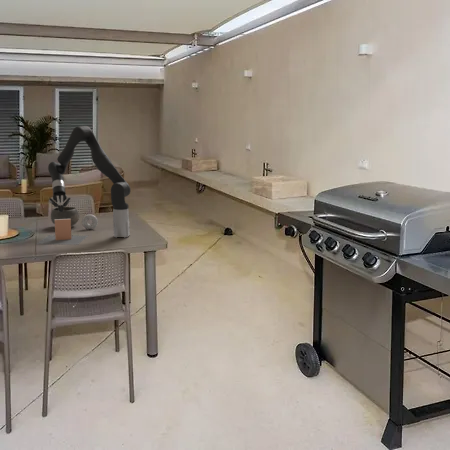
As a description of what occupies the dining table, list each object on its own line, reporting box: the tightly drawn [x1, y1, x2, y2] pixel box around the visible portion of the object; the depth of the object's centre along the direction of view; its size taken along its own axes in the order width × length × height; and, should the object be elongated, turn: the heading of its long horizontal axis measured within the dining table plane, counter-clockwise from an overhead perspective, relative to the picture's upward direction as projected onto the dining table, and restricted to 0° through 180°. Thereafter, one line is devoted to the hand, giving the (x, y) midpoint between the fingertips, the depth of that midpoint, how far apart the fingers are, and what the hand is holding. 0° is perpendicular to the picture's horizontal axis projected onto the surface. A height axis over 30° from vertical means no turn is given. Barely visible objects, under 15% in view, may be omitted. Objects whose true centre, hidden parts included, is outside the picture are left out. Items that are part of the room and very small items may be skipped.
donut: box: [81, 213, 99, 230], centre depth 345 cm, size 10×3×10 cm, turn 103°
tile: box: [54, 219, 72, 240], centre depth 314 cm, size 2×9×12 cm, turn 110°
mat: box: [36, 234, 89, 246], centre depth 314 cm, size 24×24×1 cm
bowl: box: [50, 206, 80, 227], centre depth 352 cm, size 18×18×13 cm
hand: (61, 211), depth 322 cm, fingers closed
